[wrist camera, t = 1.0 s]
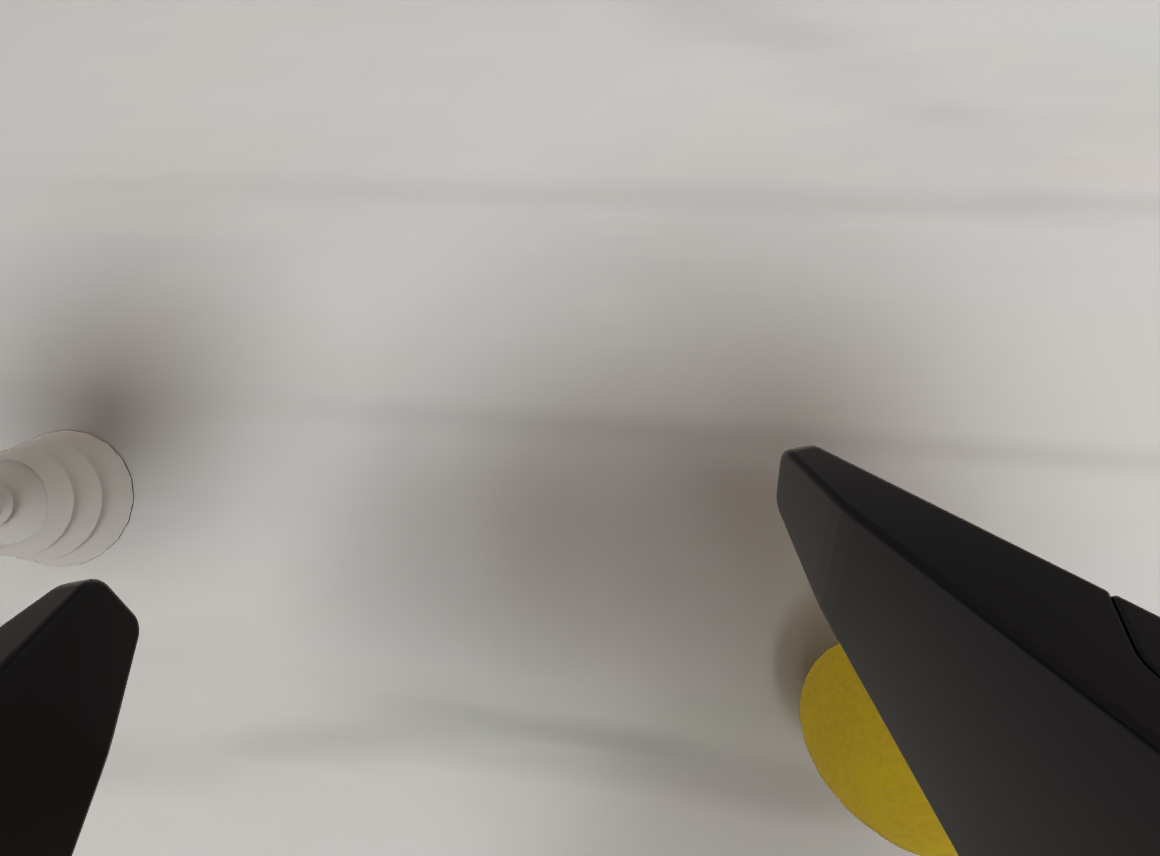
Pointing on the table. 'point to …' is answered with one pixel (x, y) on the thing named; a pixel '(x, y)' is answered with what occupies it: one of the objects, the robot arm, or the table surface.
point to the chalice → (62, 498)
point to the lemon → (865, 758)
